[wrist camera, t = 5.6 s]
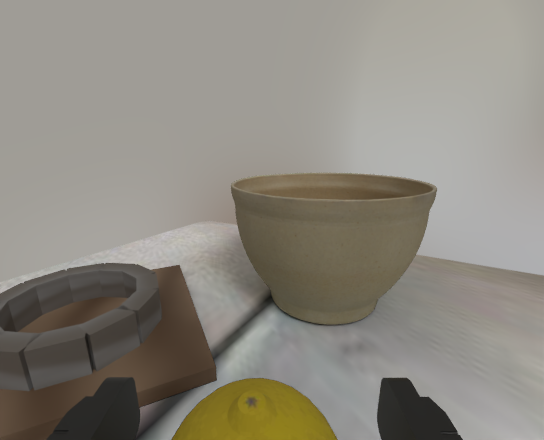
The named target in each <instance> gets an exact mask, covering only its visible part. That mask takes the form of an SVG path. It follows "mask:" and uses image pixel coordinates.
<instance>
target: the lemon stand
mask: <svg viewBox="0 0 544 440" xmlns="http://www.w3.org/2000/svg"><path fill="white" fill-rule="evenodd" d="M108 377H133V378H134V380H135V385H136V391H137V397H138V404H139V407H141V406H144V405H147V404H150V403H153V402H155V401H158V400H161V399H164V398H167V397H170V396H173V395H176V394H178V393H181V392H184V391H187V390H190V389H193V388H196V387H198V386H201V385H204V384H207V383H210V382H213V381H216V380H217V377H216V366H215V363H214V360H213V357H212V354H211V352H210V349H209V346H208V343H207V341H206V338H205V335H204V332H203V329H202V327H201V324H200V321H199V318H198V315H197V313H196V310H195V307H194V304H193V302H192V299H191V296H190V293H189V290H188V288H187V285H186V282H185V279H184V277H183V274H182V271H181V268H180V265H176V266H171V267H165V268H159V269H153V270H149V269H147V268H144V267H142V266H140V265H138V264H137V265H135V264H120V263H106V264H104V263H102V264H95V265H89V266H82V267H75V268H69V269H67V271H66V270H61V271H58V272H54V273H51V274H48V275H45V276H42V277H38V278H35V279H32V280H29V281H25V282H24V283H20V284H18V285H16V286H14V287H12V288H10V289H9V290H7V291H5V292H3V293H1V294H0V440H46V439H47V438H48V437H49V435H50V434H52V433H53V430H54V429H55V427H56V426H57V425H58V423H59V422H60V421H61V419H62V418H63V417H64V416H65V414H66V413H67V412H68V411H69V410H70V409H71V408H72V407H74V406H75V405H76V404H77V403H78V402H80V401H81V400H82V399H83V398H84V397H85V396H93V395H94V394H95V392H96V391H97V389H98V388H99V387H100V385H101V384H102V382H103V381H104V380H105V379H106V378H108Z"/></svg>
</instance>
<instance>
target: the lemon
mask: <svg viewBox="0 0 544 440" xmlns="http://www.w3.org/2000/svg"><path fill="white" fill-rule="evenodd" d="M172 440H337V438H336V436H335V434H334V432H333V430H332V429H331V427H330V425H329V423H328V422H327V420H326V418H325V417H324V416H323V414H322V413H321V412H320V411H319V410H318V409H317V408H316V406H315V405H314V404H313V403H312V402H311V401H310V400H309V399H308V398H307V397H306V396H304V395H303V394H301V393H300V392H298V391H297V390H295V389H294V388H292V387H290V386H288V385H285V384H283V383H281V382H278V381H275V380H269V379H264V378H252V379H244V380H239V381H235V382H232V383H229V384H227V385H225V386H223V387H220V388H218V389H217V390H215V391H214V392H213V393H211V394H210V395H208V396H207V397H206V398H204V399H203V400H202V401H200V402H199V403H198V404H197V405H196V407H195V408H194V409H193V410H192V411H191V412H190V413H189V414H188V415H187V416H186V418H185V419H184V421H183V422H182V424H181V425H180V427H179V428H178V430H177V432H176V433H175V435H174V436H173V438H172Z"/></svg>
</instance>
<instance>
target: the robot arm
mask: <svg viewBox="0 0 544 440" xmlns="http://www.w3.org/2000/svg"><path fill="white" fill-rule="evenodd" d="M139 422H140V410H139V404H138V397H137V391H136V385H135V380H134V378H133V377H108V378H106V379H105V380H104V381H103V382H102V384H101V385H100V387H99V388H98V389H97V391H96V392H95V394H94V395H93V396H85V397H84V398H83V399H82V400H81V401H80V402H78V403H77V404H76V405H75V406H74V407H72V408H71V409H70V410H69V411H68V412H67V413H66V414H65V416H64V417H63V418H62V419H61V421H60V422H59V423H58V425H57V426H56V427H55V429H54V430H53V433H52V434H50V435H49V437H48V438H47V439H46V440H134V439H135V437H136V434H137V431H138V427H139ZM377 422H378V428H379V433H380V436H381V439H382V440H463V439H462V438H461V436H460V435H458V433H457V430H456V428H455V427H454V425H453V424H452V422H451V421H450V419H449V417H448V416H447V414H446V413H445V412H444V411H443V410H442V409H441V408H440V407H439V406H438V405H437V404H436V403H435V402H434V401H432V400H431V399H430V398H429V397H420V396H419V395H418V393H417V391H416V389H415V388H414V386H413V384H412V383H411V381H410V380H409V379H408V378H383V379H382V381H381V388H380V396H379V404H378V412H377Z"/></svg>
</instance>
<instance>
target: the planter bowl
mask: <svg viewBox="0 0 544 440" xmlns="http://www.w3.org/2000/svg"><path fill="white" fill-rule="evenodd" d="M231 191H232V196H233V199H234V201H235V208H236V219H237V224H238V229H239V234H240V237H241V240H242V243H243V246H244V248H245V251H246V253H247V255H248V257H249V259H250V261H251V263H252V265H253V267H254V268H255V270H256V271H257V273H258V274H259V276H260V277H261V278H262V280H263V281H264V282H265V283H266V285H267V286H268V287H269V288H270V289H271V294H272V298H273V300H274V302H275V303H276V305H277V306H278V307H279V308H280V309H281V310H282V311H284V312H286V313H287V314H289V315H291V316H293V317H295V318H298V319H301V320H304V321H307V322H312V323H318V324H328V325H331V324H346V323H351V322H355V321H358V320H361V319H363V318H365V317H367V316H368V315H369V314H370V313H371V312H372V311H373V310H374V309H375V306H376V304H377V301H378V298H380V297H381V296H382V295H384V294H385V293H386V292H387V291H388V290H389V289H390V288H391V287H392V286H393V285H394V284H395V283H396V282H397V281H398V280H399V279H400V277H401V276H402V275H403V274H404V272H405V271H406V269H407V268H408V266H409V265H410V263H411V262H412V260H413V258H414V257H415V255H416V253H417V251H418V249H419V247H420V244H421V241H422V239H423V236H424V233H425V230H426V227H427V221H428V216H429V211H430V208H431V206H432V204H433V203H434V200H435V197H436V192H437V188H436V186H434V185H432V184H430V183H426V182H422V181H418V180H413V179H407V178H401V177H393V176H382V175H371V174H352V173H295V174H275V175H263V176H254V177H249V178H243V179H240V180H237V181H235V182H233V183H232V184H231Z"/></svg>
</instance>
